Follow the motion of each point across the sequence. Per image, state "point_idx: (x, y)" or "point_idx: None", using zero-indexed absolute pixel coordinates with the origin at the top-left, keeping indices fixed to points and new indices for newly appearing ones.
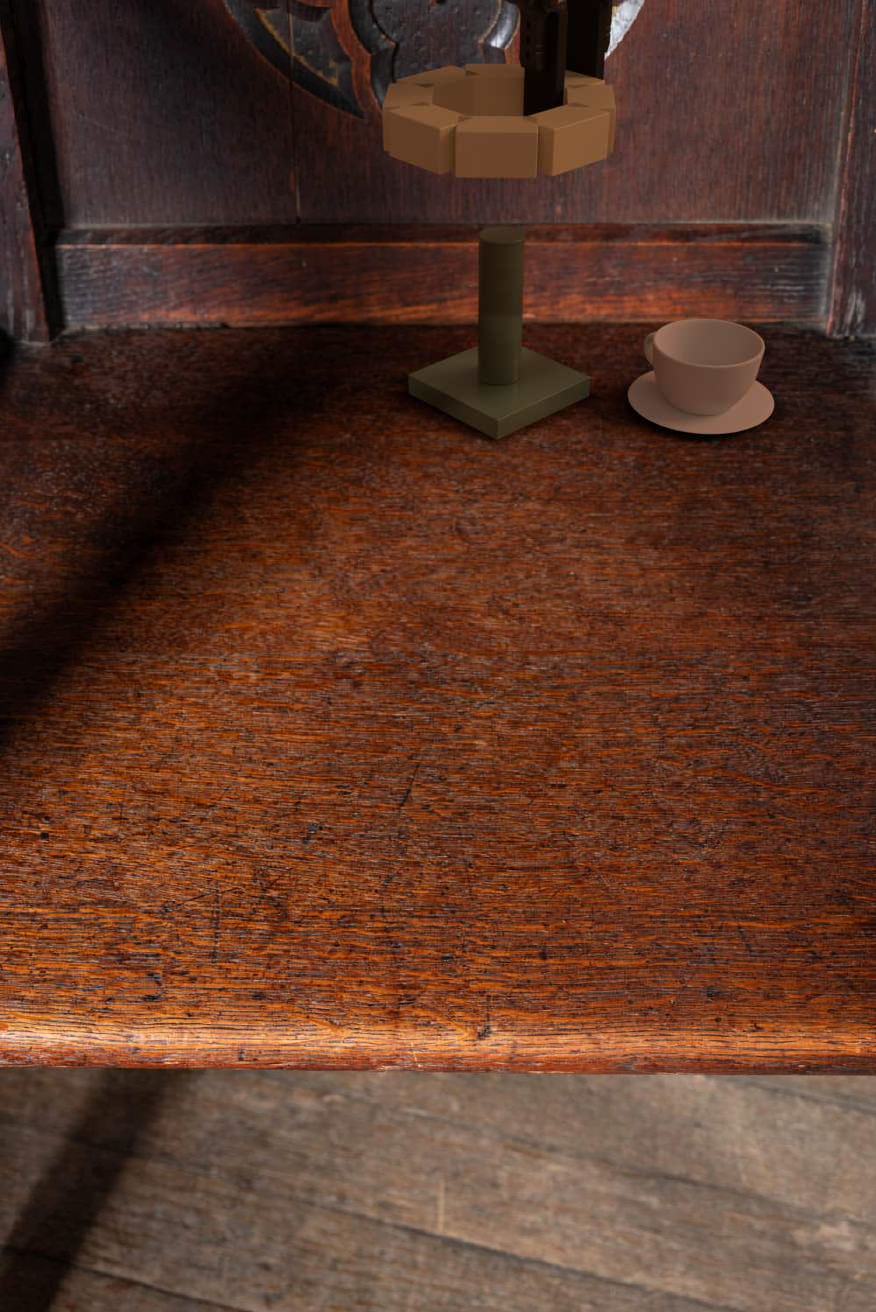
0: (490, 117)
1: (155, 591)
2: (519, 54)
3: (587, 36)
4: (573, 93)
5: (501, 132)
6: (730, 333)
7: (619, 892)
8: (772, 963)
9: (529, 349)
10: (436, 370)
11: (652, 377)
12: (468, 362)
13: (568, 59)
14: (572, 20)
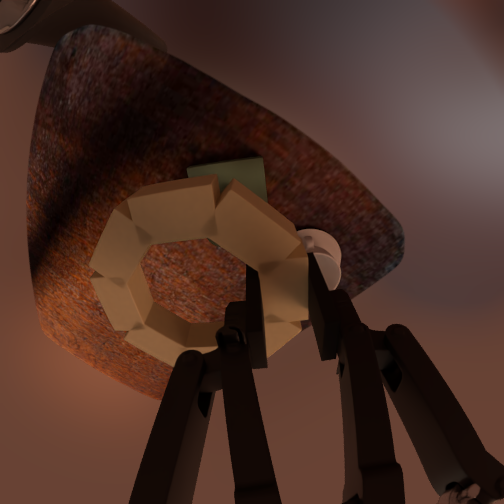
0: (157, 336)
1: (57, 248)
2: (225, 311)
3: (315, 323)
4: None
5: (153, 355)
6: (336, 268)
7: (135, 376)
8: (153, 393)
9: (265, 182)
10: (202, 173)
11: (306, 234)
12: (224, 175)
13: (310, 284)
14: (318, 314)
